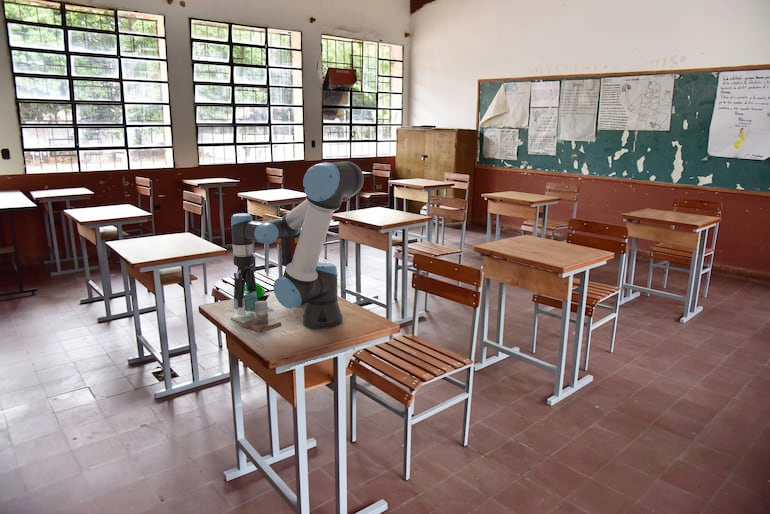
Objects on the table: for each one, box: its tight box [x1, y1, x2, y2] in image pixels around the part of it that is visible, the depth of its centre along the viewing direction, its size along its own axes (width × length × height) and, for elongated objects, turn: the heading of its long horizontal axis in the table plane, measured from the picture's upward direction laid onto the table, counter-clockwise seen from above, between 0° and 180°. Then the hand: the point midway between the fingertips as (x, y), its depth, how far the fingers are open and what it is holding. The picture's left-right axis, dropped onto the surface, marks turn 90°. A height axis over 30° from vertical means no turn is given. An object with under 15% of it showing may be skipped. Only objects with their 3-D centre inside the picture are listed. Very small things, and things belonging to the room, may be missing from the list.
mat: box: [229, 310, 256, 324], centre depth 210 cm, size 9×9×1 cm
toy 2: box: [280, 230, 301, 268], centre depth 230 cm, size 14×6×30 cm, turn 119°
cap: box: [232, 291, 258, 312], centre depth 209 cm, size 8×11×5 cm
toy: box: [244, 282, 270, 302], centre depth 225 cm, size 10×11×15 cm
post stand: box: [242, 300, 282, 333], centre depth 202 cm, size 10×10×9 cm
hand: (246, 310), depth 210 cm, fingers closed on cap, 8 cm apart
